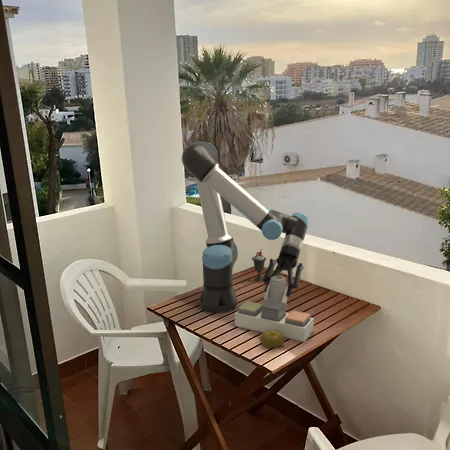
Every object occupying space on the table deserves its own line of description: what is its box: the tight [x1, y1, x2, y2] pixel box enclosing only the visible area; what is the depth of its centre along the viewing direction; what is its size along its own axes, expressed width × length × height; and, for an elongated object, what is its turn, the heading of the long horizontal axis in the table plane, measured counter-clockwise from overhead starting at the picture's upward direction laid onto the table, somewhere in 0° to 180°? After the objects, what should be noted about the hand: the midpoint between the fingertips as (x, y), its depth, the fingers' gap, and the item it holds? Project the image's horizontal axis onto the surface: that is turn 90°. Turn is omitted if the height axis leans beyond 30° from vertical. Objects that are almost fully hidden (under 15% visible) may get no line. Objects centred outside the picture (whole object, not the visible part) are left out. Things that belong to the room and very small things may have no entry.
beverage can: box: [269, 275, 288, 307], centre depth 177 cm, size 6×6×12 cm
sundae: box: [251, 248, 267, 282], centre depth 213 cm, size 7×7×15 cm
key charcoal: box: [261, 299, 287, 322], centre depth 164 cm, size 6×6×6 cm
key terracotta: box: [285, 310, 311, 327], centre depth 161 cm, size 6×6×6 cm
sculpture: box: [259, 330, 285, 349], centre depth 155 cm, size 8×4×8 cm
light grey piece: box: [234, 309, 315, 343], centre depth 165 cm, size 26×9×5 cm, turn 61°
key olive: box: [238, 301, 264, 317], centre depth 169 cm, size 6×6×6 cm
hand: (274, 302), depth 174 cm, fingers closed on beverage can, 6 cm apart
